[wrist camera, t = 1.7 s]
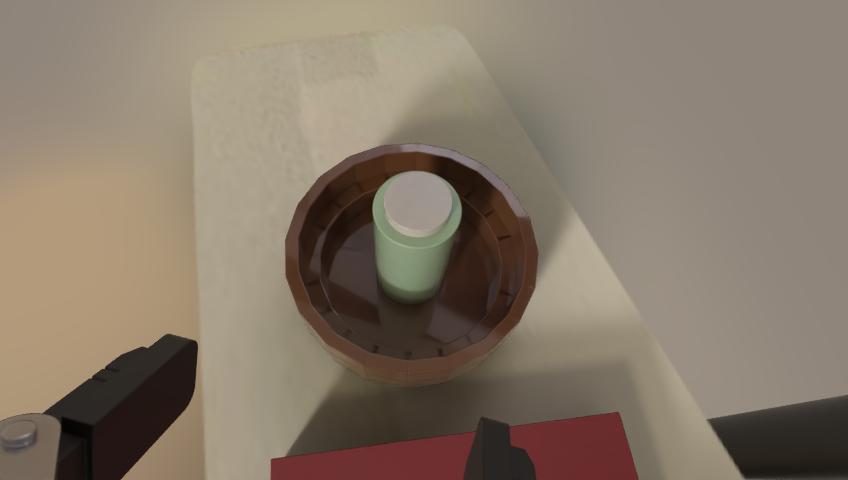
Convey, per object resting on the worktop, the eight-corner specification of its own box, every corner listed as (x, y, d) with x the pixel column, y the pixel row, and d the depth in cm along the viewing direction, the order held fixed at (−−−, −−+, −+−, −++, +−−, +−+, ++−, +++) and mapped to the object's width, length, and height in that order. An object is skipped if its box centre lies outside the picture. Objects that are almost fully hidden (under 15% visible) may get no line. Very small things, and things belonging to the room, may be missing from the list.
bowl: (495, 176, 39) (509, 136, 34) (540, 372, 32) (565, 356, 28) (297, 190, 37) (284, 151, 32) (301, 402, 30) (285, 389, 26)
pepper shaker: (439, 239, 35) (456, 158, 26) (449, 301, 33) (471, 237, 24) (373, 244, 35) (368, 164, 26) (379, 308, 33) (376, 245, 24)
